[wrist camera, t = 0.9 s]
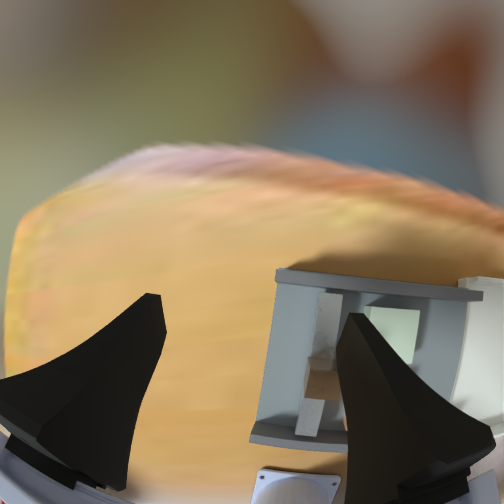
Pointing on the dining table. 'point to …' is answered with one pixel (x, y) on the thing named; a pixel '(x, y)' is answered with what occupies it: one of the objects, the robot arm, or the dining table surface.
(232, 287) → the dining table surface
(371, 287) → the plate
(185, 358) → the dining table surface
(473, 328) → the box
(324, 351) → the pale grey block
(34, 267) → the dining table surface
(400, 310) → the sage tile
